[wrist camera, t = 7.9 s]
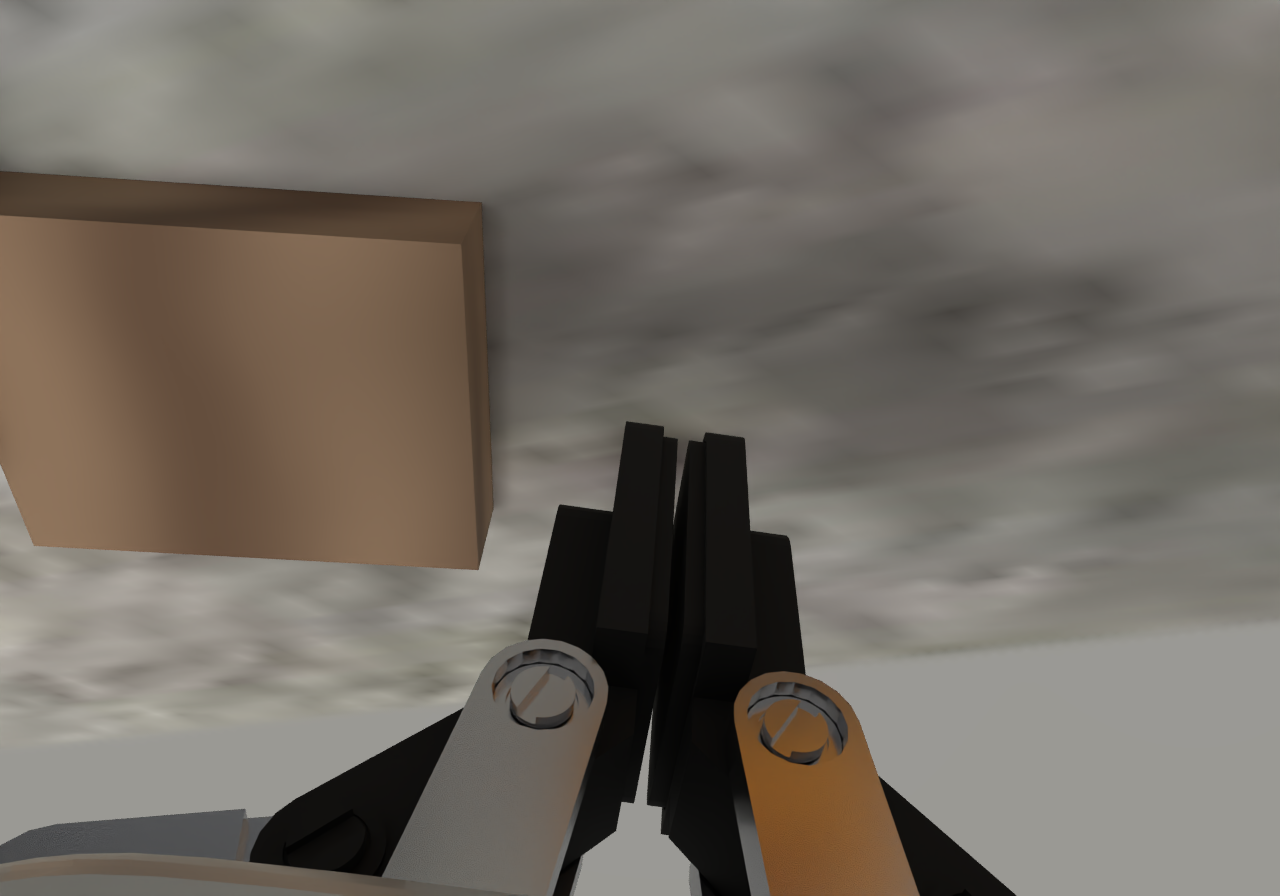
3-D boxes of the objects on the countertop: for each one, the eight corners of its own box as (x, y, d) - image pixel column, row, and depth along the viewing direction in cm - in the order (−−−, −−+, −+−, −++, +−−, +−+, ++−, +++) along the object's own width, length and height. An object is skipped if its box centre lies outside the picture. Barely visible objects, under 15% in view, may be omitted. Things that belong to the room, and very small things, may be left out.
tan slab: (485, 195, 17) (461, 244, 14) (496, 496, 20) (478, 570, 18) (-9, 162, 16) (-106, 208, 14) (98, 474, 20) (34, 545, 18)
